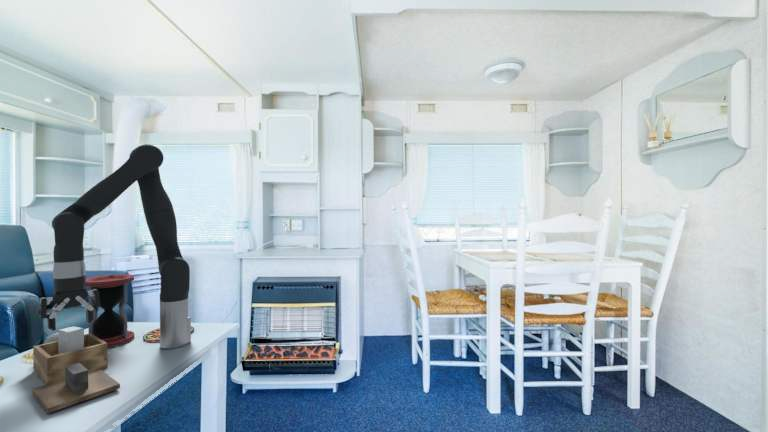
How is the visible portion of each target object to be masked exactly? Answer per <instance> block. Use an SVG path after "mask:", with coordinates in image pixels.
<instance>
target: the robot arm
mask: <svg viewBox="0 0 768 432" xmlns="http://www.w3.org/2000/svg"><path fill="white" fill-rule="evenodd" d="M163 162H164V153H163V152H162V150H161V149H160V148H159V147H157V146H155V145H153V144H141V145H138V146H137V147H135V148H133V150H132V151H130V154H129V158H128V159H127V160H126V161H125V162H124V163H123V164H121V166H120V167H118V168H117V169H116V170H115V171H114V172H112V173H111V174H110V175H107V176H105V178H103V179H102V180H101V181H99V182H98V183H96V184H95V185H94V186H92V187H91V188H90V189H89V190H87V191H86V192H84V193H83V194H82V195H81V196H80V197H79V198H78V199H77V200H76V201H75V202H73V203H72V204H70V205H69V206H68V207H65V209H64V210H62V211H61V212H59V213H58V214H57V215H55V216H54V217H53V219H52V221H51V226H52V229H53V231H54V232H53V233H54V243H55V244H54V247H53V269H52V278H53V279H52V281H53V282H52V283H53V295H52V296H49V297H40V298H39V299H38V300H39V301H38V317H39V318H41V319H47V329H49V330H50V331H56V329H57V328H56V326H57V325H56V316H57V315H58V313H60V312H61V310H62V309H69V308H73V307H74V308H75V307H79V306H82V307H83V308H84V309H86V310H85V322H86V323H88V324H89V323H90V322H91V320H93V310H94V309H95V308H98V309H99V308H101V307H100V297H99V290H97V289H93V290H91V291H88V290H87V286H86V278H87V277H86V276H87V275H86V273H87V272H86V264H85V263H86V262H85V253H84V250H85V249H84V238H85V236H84V235H85V224H86V223H87V222H89V221H90V220H91V219H92V218H93V217H95V216H97V215H98V214H100V213H101V212H103V211H104V210H105V209H106V208H107V207H109V206H110V205H111V204H112V203H113V202H114V201H116V199H118V198H119V197H120V196H121V195H122V194H124V192H125V191H126V190H127V189H129V187H131V186H132V185H134V184H135V182H137V185H138V188H139V193H140V201H141V204H142V210H143V213H144V218H145V221H146V225H147V228H148V231H149V233H150V236H151V238H152V242H153V243H154V246H155V251H156V255H157V256H156V257H157V264H158V272H159V275H160V293H159V347H160V348H161V349H165V350H166V349H167V350H168V349H169V350H170V349H177V348H181V347H183V346H186V345H187V344H189V343H191V342H192V329H191V328H192V326H191V325H192V320H191V319H192V318H191V317H190V316H189V292H190V283H191V282H190V279H191V278H190V277H191V276H190V274H191V271H190V265H189V263H188V262H187V261H186V260H185V259H184V258H183V255H182V252H181V250H180V246H179V242H178V225H177V219H176V215H175V211H174V207H173V204H172V201H171V199H170V197H169V195H168V193H167V192H166V190H165V188H164V186H163V184H162V179H161V175H160V167H161V166H162V164H163ZM88 294H89V295H90V296H91V297H92V298H93V305H89V304H88V302H87V301H86V298H87V297H88ZM51 302H54V303H55V304H54V306H52V309H51V310H50V311H49V312H48V313H47V308H48V305H50V304H51Z"/></svg>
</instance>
